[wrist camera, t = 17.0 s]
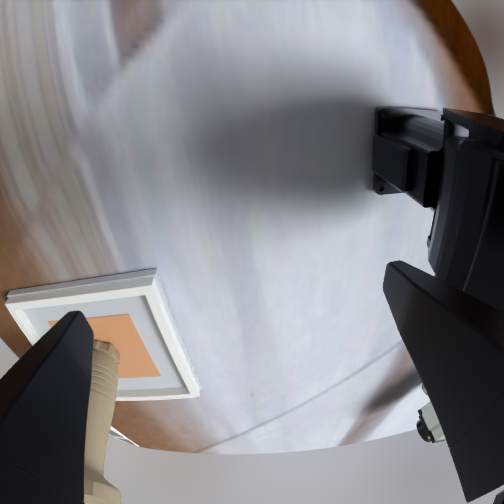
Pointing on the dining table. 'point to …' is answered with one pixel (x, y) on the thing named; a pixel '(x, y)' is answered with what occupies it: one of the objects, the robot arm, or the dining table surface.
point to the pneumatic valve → (429, 423)
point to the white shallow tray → (118, 329)
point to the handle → (100, 424)
